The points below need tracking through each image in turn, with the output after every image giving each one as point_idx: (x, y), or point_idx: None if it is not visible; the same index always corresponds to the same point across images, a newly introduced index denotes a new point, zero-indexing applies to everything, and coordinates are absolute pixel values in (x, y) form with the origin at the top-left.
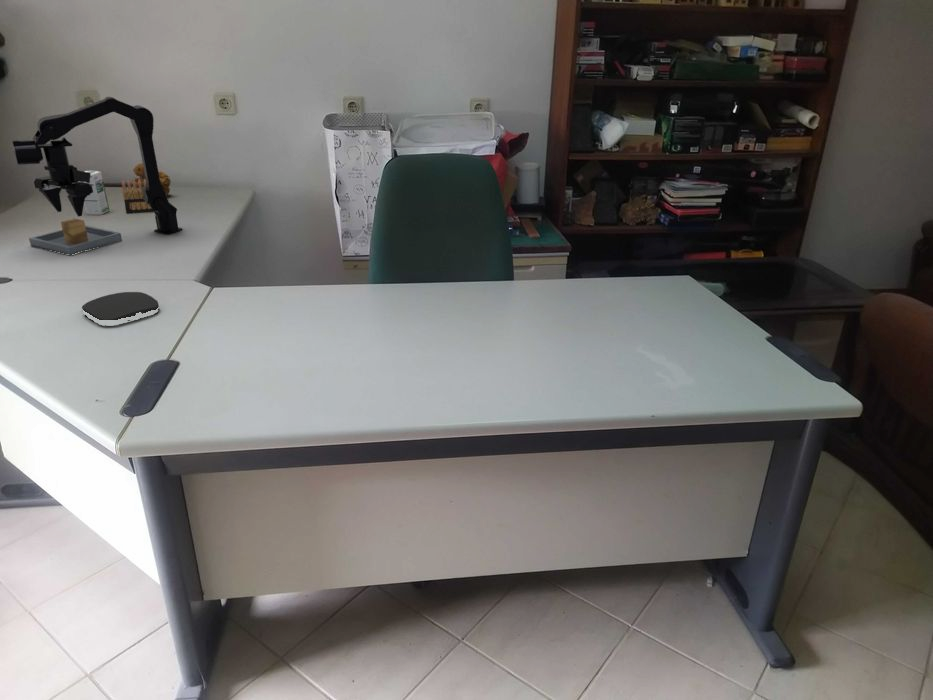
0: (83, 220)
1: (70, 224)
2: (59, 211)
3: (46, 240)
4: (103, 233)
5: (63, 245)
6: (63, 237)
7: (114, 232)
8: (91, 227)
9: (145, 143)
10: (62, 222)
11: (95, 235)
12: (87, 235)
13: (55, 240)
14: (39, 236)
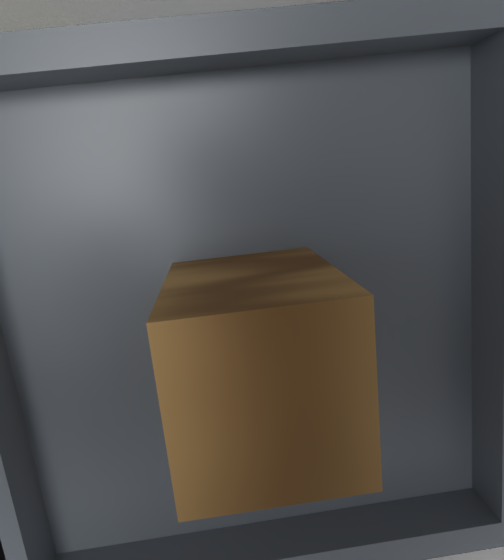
0: (365, 295)
1: (375, 486)
2: (1, 556)
3: (35, 472)
4: (291, 56)
5: (438, 538)
6: (37, 333)
7: (475, 15)
8: (84, 56)
9: None
10: (215, 513)
11: (201, 106)
12: (141, 156)
13: (81, 420)
14: (27, 556)
